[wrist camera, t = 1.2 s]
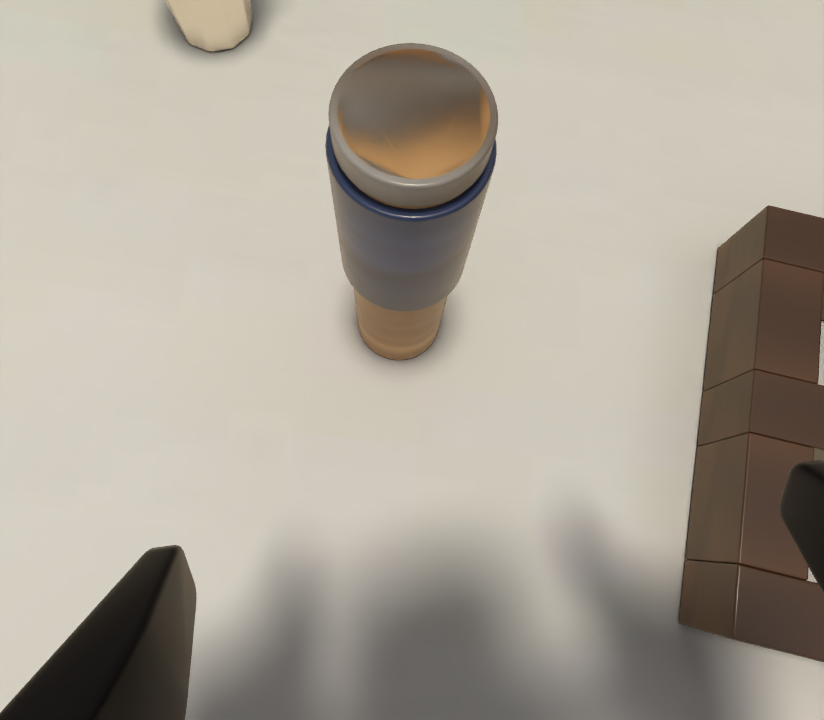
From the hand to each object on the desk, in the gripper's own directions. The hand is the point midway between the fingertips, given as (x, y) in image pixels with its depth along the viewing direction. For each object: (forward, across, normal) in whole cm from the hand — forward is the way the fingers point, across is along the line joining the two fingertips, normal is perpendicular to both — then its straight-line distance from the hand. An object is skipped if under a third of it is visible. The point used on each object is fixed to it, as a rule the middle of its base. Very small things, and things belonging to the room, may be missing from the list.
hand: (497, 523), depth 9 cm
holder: (+10, -15, +9) cm, 20 cm away
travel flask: (+15, 0, +4) cm, 16 cm away
